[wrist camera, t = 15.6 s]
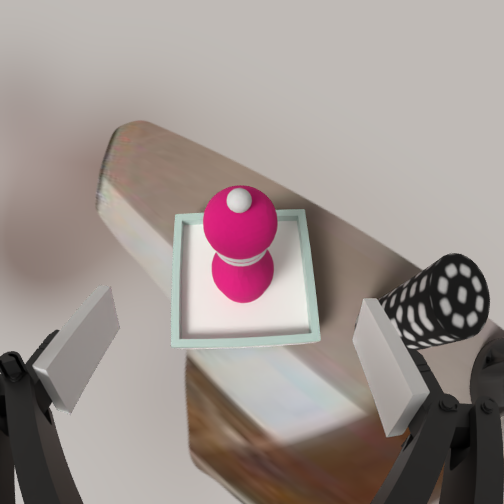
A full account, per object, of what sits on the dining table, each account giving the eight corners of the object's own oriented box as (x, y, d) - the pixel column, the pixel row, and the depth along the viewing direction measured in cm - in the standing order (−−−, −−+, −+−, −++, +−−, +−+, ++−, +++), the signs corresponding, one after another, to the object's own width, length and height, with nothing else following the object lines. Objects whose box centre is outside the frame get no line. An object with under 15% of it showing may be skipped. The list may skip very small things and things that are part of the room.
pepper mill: (252, 244, 40) (255, 140, 22) (282, 288, 38) (312, 209, 20) (205, 271, 39) (170, 181, 20) (233, 317, 37) (218, 262, 18)
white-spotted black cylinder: (393, 363, 39) (483, 349, 20) (347, 345, 40) (420, 322, 21) (408, 313, 41) (492, 271, 23) (364, 294, 43) (435, 240, 24)
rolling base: (298, 228, 47) (304, 209, 41) (310, 344, 40) (320, 340, 34) (183, 233, 46) (175, 214, 40) (181, 350, 39) (171, 347, 34)
